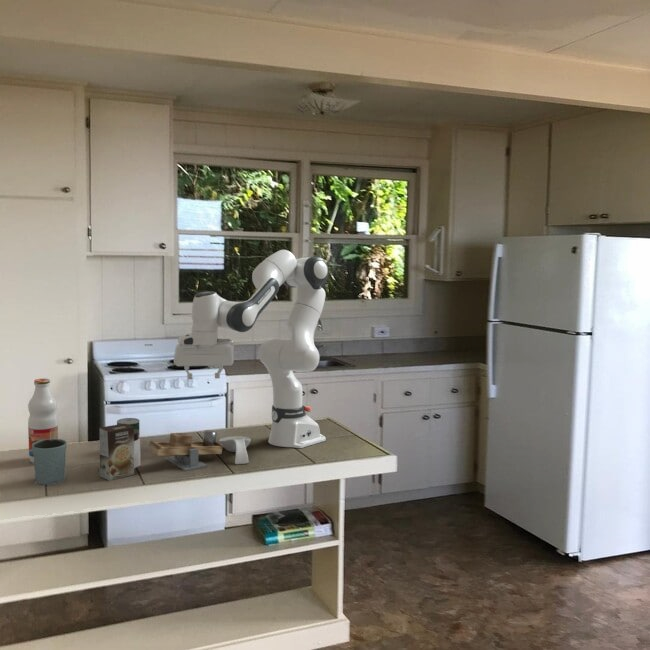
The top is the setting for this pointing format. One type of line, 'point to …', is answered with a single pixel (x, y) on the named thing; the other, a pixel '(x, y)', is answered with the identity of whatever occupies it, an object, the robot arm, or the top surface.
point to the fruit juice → (42, 415)
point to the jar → (136, 448)
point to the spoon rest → (237, 447)
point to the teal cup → (49, 460)
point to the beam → (183, 448)
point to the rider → (180, 440)
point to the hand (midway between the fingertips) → (203, 378)
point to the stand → (187, 460)
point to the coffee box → (116, 451)
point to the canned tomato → (130, 422)
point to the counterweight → (209, 438)
